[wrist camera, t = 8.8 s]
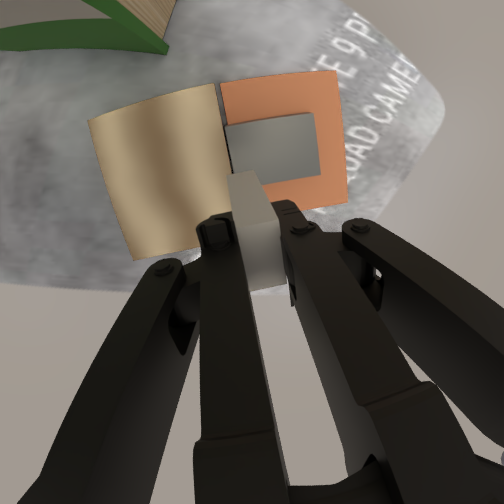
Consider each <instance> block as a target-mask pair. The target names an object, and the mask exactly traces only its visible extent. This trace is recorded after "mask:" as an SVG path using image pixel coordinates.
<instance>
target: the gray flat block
mask: <svg viewBox="0 0 504 504" xmlns="http://www.w3.org/2000/svg"><path fill="white" fill-rule="evenodd" d="M224 127H225V132H226V137H227V142H228V146H229V151H230V156H231V161H232V166H233V171H234V174H236V173H241V172H246V171H251V170H254V172H255V174H256V176H257V177H258V179H259V181H260V183H261V185H266V184H271V183H277V182H282V181H288V180H294V179H299V178H305V177H311V176H317V175H321V171H320V161H319V152H318V143H317V135H316V127H315V120H314V113H311V112H304V113H296V114H288V115H281V116H274V117H268V118H261V119H256V120H250V121H244V122H239V123H234V124H229V125H224Z"/></svg>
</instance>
